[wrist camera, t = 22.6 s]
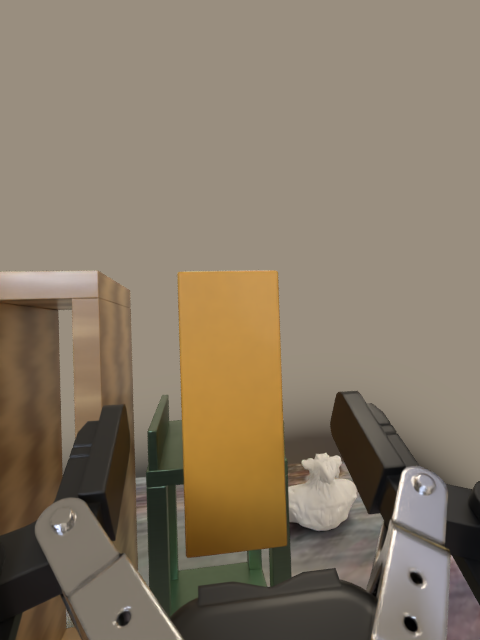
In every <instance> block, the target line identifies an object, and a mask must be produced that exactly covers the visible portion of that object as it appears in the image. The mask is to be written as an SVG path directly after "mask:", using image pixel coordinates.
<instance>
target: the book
mask: <svg viewBox="0 0 480 640" xmlns="http://www.w3.org/2000/svg"><path fill="white" fill-rule="evenodd" d="M178 308H179V341H180V373H181V407H182V440H183V473H184V506H185V538H186V556H187V558H192V557H200V556H208V555H217V554H225V553H234V552H242V551H250V550H259V549H267V548H275V547H284V546H287V518H286V489H285V460H284V431H283V402H282V374H281V348H280V347H281V345H280V319H279V318H280V316H279V287H278V272H277V271H269V270H264V271H185V272H178Z"/></svg>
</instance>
